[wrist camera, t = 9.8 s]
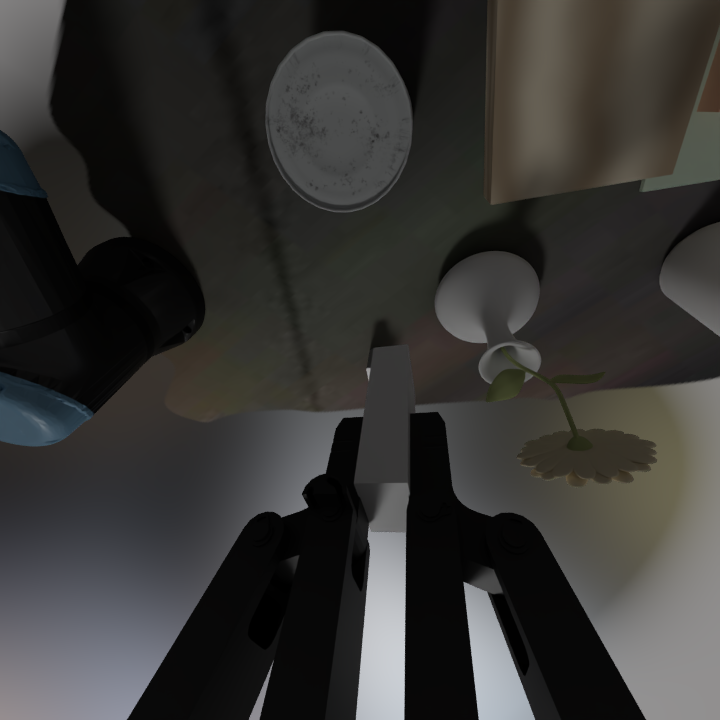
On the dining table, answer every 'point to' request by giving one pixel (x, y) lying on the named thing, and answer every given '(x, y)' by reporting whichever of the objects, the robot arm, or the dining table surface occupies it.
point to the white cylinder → (339, 121)
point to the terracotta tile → (712, 87)
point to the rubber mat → (695, 146)
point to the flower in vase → (529, 368)
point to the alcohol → (695, 275)
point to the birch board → (589, 91)
